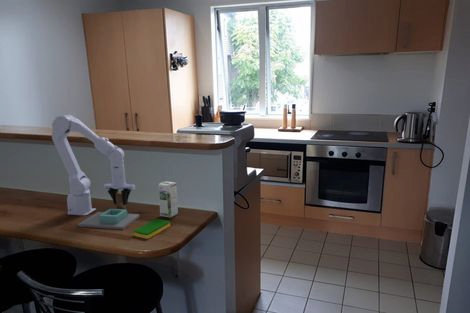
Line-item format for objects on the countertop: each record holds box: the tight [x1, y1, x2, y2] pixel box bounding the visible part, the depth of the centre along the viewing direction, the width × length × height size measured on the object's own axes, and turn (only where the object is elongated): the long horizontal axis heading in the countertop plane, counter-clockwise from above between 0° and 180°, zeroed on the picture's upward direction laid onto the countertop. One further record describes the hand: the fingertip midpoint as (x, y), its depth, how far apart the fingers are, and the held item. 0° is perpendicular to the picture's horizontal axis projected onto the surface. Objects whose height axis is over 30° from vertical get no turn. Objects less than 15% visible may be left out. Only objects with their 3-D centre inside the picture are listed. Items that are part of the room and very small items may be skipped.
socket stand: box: [77, 208, 141, 230], centre depth 144 cm, size 20×14×4 cm
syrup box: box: [158, 180, 179, 219], centre depth 149 cm, size 6×6×14 cm
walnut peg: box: [115, 191, 127, 210], centre depth 157 cm, size 4×4×8 cm
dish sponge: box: [133, 218, 171, 240], centre depth 134 cm, size 7×14×2 cm, turn 153°
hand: (120, 204), depth 157 cm, fingers closed on walnut peg, 4 cm apart
